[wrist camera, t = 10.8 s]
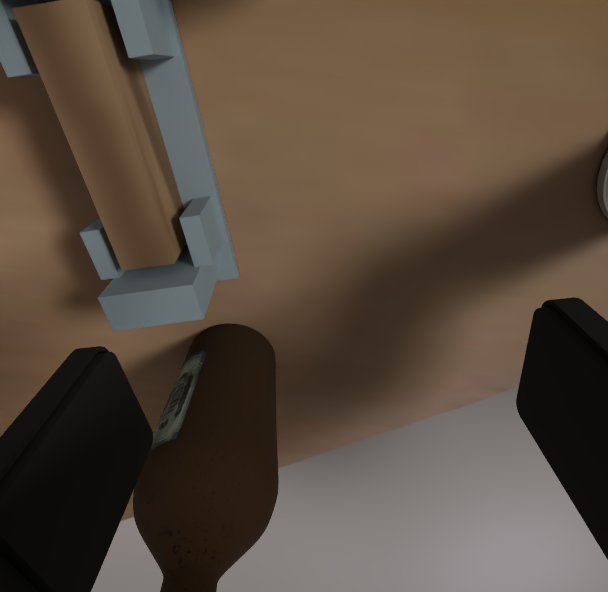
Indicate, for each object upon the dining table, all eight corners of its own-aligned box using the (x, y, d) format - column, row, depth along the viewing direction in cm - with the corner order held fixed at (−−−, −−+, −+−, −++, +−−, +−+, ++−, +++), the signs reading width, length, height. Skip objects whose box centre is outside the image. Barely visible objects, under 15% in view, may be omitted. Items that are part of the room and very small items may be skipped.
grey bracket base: (147, -95, 24) (80, -173, 16) (239, 273, 37) (226, 327, 29) (-7, -67, 24) (-145, -131, 17) (138, 287, 37) (99, 344, 30)
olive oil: (298, 341, 42) (309, 633, 20) (255, 404, 46) (227, 697, 25) (205, 302, 39) (103, 594, 17) (169, 373, 43) (52, 675, 22)
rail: (124, 11, 26) (84, -4, 21) (191, 234, 34) (174, 263, 29) (67, 20, 26) (11, 8, 21) (147, 240, 34) (122, 270, 29)
